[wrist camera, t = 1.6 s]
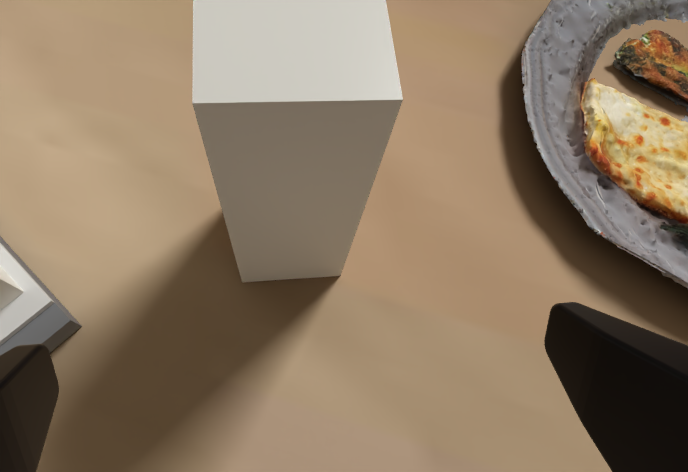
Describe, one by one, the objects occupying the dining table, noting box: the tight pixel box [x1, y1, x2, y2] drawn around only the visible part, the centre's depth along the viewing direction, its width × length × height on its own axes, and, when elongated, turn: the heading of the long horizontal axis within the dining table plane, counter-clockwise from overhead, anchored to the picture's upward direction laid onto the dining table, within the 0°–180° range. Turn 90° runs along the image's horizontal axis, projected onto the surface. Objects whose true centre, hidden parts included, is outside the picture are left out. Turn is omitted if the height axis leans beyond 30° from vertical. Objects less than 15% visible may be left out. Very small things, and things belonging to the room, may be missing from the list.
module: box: [192, 0, 403, 282], centre depth 17 cm, size 5×4×13 cm
